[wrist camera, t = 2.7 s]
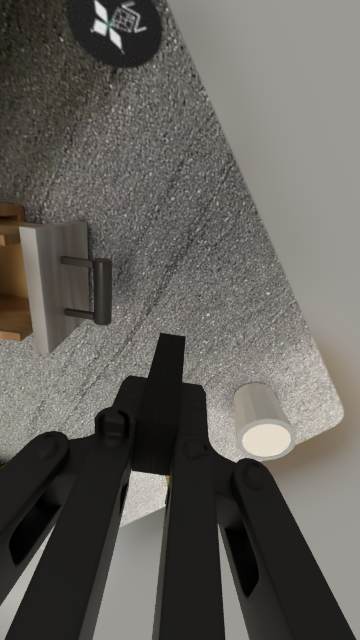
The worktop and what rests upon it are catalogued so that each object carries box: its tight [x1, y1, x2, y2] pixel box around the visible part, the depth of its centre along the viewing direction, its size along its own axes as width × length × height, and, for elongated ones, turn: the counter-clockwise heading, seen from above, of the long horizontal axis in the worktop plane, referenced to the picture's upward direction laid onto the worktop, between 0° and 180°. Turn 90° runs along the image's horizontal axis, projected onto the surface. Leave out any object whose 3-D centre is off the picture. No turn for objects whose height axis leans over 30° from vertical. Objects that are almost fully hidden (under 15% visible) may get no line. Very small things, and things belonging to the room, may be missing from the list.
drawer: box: [0, 218, 112, 355], centre depth 23 cm, size 17×11×9 cm, turn 82°
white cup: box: [233, 383, 297, 460], centre depth 31 cm, size 7×7×7 cm
